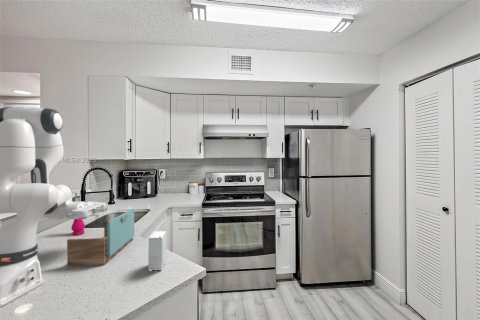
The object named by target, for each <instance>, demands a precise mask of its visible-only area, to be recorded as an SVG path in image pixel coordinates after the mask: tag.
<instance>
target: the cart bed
mask: <svg viewBox="0 0 480 320" xmlns="http://www.w3.org/2000/svg"><path fill="white" fill-rule="evenodd" d="M110 220H111V219H110ZM110 220H109V219H107V220H103V222H104V223H103V224H104V225H103V230H104V232H103V234H104V236H103V237H98V238H95V237H94V238H91V237H90V238H69V239H67V240H66V249H67V250H66V251H67V254H66V257H67V258H66V259H67V266H70V267H88V266H89V267H92V266H91V265H95V266H105V265H106V264H107V263H108V262H110V261H109V260H112V259H113V258H114V257H116V256H117V255H118V254H119V253H120V252H121V251H122V250H124V248H126V247H127V246H128V245H129V244H130V243H132V241H133V240H134V237H133V238H131V239H130V240H129V241H128V242H127V243H125V244H124V245H123V246H122V247H121V248H120V249H118V250H117V251H116V252H115V253H114V254H113V255H111V256H110V257H107V222H108V221H110ZM128 243H129V244H128ZM127 244H128V245H127ZM126 245H127V246H126ZM125 246H126V247H125ZM118 252H119V253H118ZM117 253H118V254H117Z"/></svg>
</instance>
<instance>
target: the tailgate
mask: <svg viewBox="0 0 480 320" xmlns="http://www.w3.org/2000/svg"><path fill="white" fill-rule="evenodd" d="M131 238H133V239H134V238H135V208H131V209H129V210H127V211H125V212H124V213H122V214H120V215H118V216H116V217H114V218H112V219H110V221H108V222H107V257H110V256H111V255H113V254H114V253H115V252H116V251H117V250H118V249H120V248H121V247H122V246H123V245H124V244H125V243H127V242H128V241H129V240H130V239H131Z"/></svg>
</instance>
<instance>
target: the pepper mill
mask: <svg viewBox="0 0 480 320" xmlns="http://www.w3.org/2000/svg"><path fill="white" fill-rule="evenodd" d="M85 228H86V225H85V222H84V219H83V218H82V219H73V223H72V225H71V231H72V232H71V233H72V236H73V237H74V236H77V237H78V236H81V235H84V234H85Z"/></svg>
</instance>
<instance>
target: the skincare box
mask: <svg viewBox="0 0 480 320" xmlns="http://www.w3.org/2000/svg"><path fill="white" fill-rule="evenodd" d="M147 254H148V261H147V262H148V266H147V269H148V270H161V269H162V270H164V268H165V265H166V263H165V261H166V262H167V231H165V230H161V231H157V230H156V231H153V232H152V233H151V234H150V236H149V237H148V253H147ZM164 264H165V265H164Z"/></svg>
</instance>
